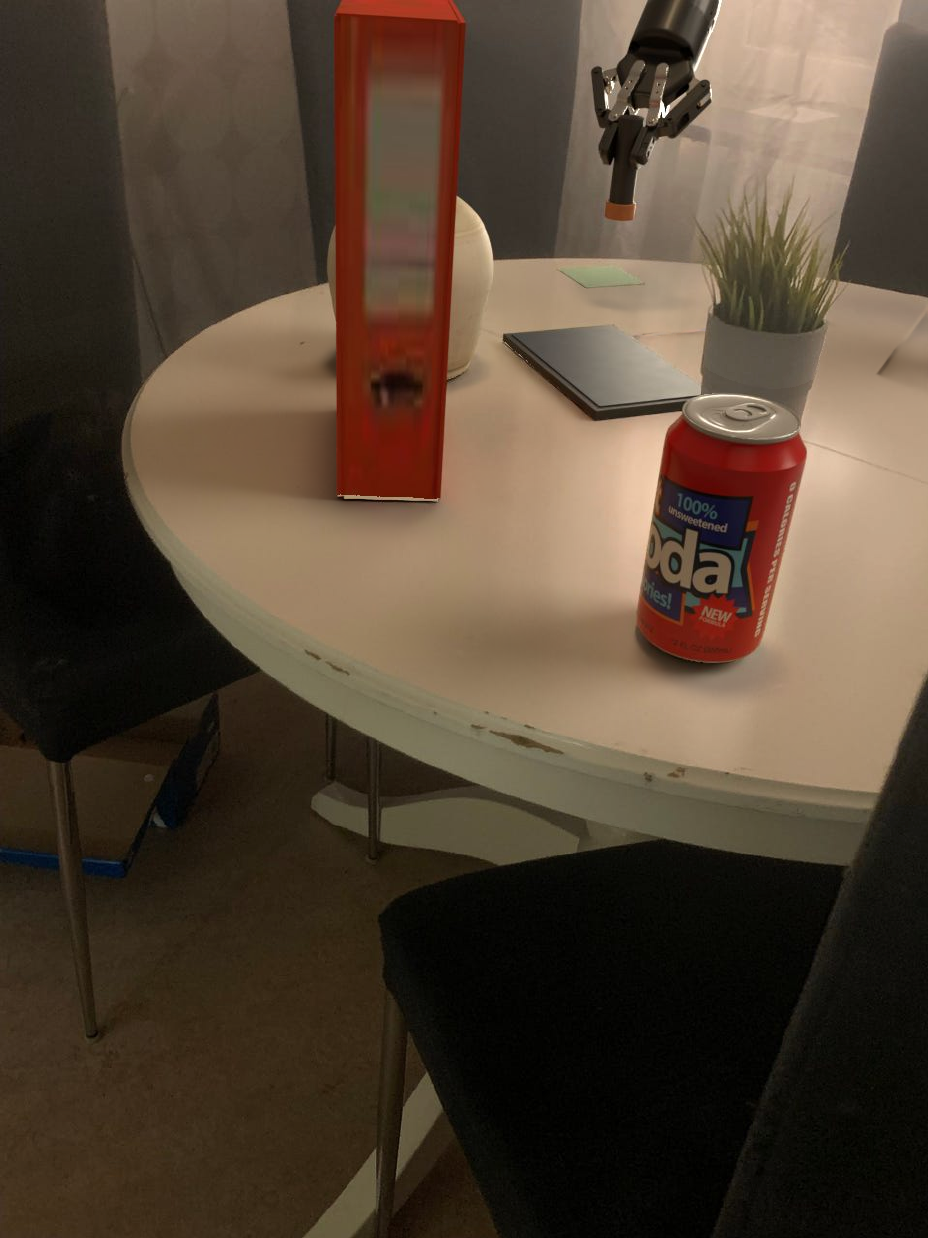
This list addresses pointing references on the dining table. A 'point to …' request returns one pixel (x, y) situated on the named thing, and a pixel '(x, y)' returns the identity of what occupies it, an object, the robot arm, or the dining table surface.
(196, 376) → the dining table surface
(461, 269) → the jug
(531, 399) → the dining table surface
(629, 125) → the black orange cylinder
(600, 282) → the pad
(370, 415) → the file binder
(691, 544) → the soda can
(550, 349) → the tablet
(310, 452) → the dining table surface
